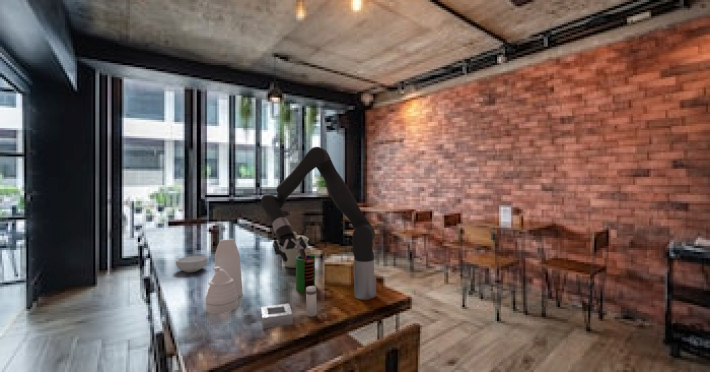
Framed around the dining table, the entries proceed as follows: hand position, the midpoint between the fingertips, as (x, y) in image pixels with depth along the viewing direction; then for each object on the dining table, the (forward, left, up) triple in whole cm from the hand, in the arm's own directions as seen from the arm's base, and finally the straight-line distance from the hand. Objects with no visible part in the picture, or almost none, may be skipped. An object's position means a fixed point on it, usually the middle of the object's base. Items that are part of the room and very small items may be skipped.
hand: (295, 259), depth 149 cm
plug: (-4, +12, -20) cm, 24 cm away
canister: (-8, -64, -20) cm, 68 cm away
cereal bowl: (+51, -75, -20) cm, 93 cm away
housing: (+10, +13, -20) cm, 26 cm away
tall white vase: (+29, -26, -20) cm, 44 cm away
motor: (-7, -20, -20) cm, 30 cm away
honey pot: (+31, -8, -20) cm, 38 cm away
